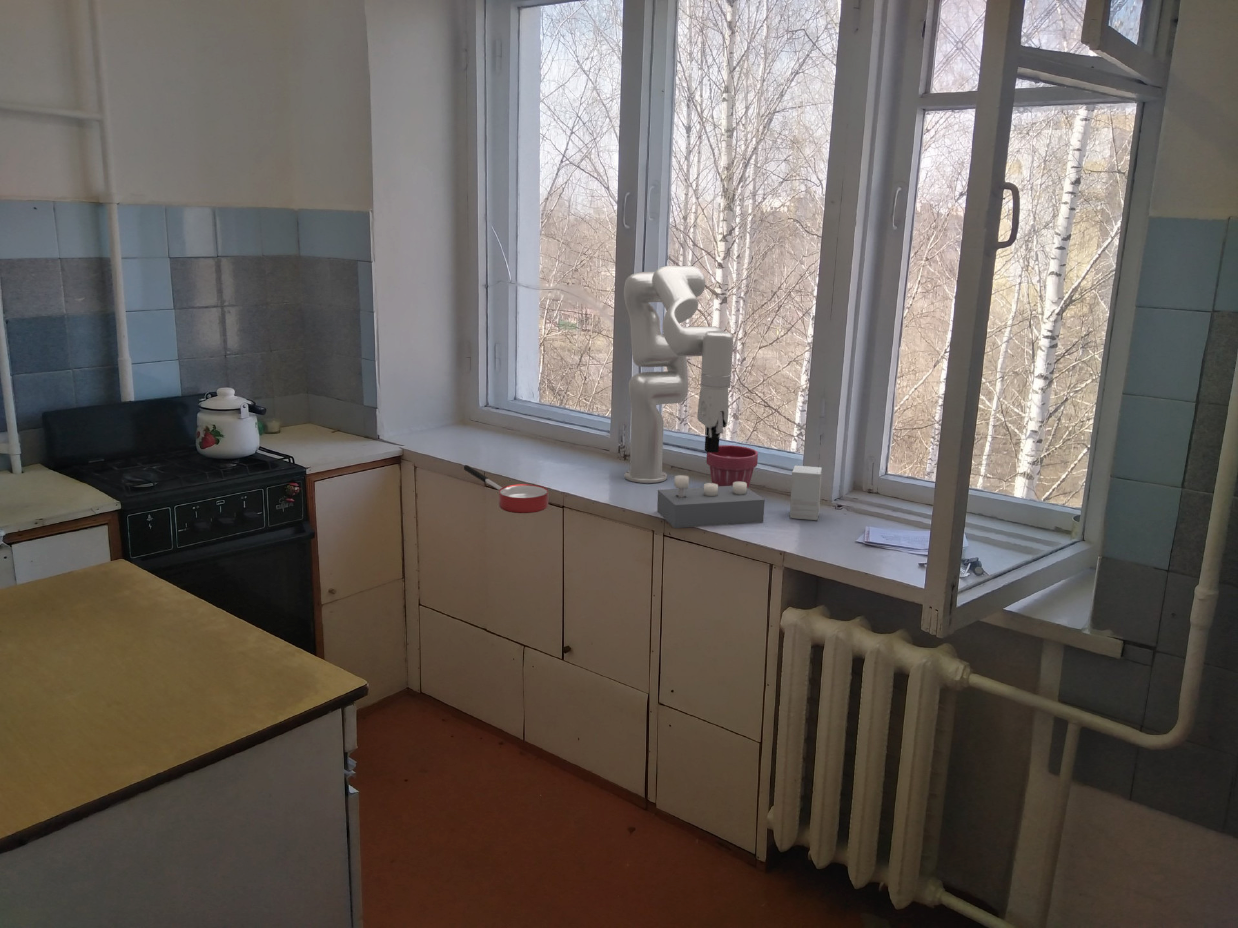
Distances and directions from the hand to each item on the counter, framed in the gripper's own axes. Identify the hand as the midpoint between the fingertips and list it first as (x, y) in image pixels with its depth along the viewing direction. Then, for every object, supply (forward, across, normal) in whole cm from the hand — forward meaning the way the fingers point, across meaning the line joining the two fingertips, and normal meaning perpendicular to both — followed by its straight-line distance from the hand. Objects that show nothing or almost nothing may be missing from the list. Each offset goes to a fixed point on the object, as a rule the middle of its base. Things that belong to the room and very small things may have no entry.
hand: (711, 451), depth 244 cm
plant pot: (+18, -17, +13) cm, 28 cm away
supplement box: (+17, +5, +25) cm, 31 cm away
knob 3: (+16, +1, +8) cm, 18 cm away
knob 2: (+16, +1, 0) cm, 16 cm away
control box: (+17, +1, 0) cm, 17 cm away
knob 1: (+13, +1, -8) cm, 15 cm away
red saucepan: (+18, -26, -51) cm, 60 cm away
